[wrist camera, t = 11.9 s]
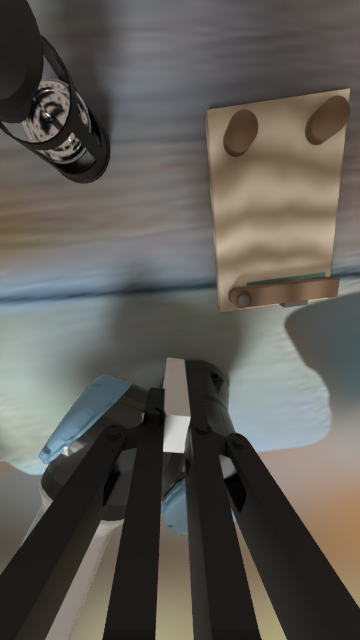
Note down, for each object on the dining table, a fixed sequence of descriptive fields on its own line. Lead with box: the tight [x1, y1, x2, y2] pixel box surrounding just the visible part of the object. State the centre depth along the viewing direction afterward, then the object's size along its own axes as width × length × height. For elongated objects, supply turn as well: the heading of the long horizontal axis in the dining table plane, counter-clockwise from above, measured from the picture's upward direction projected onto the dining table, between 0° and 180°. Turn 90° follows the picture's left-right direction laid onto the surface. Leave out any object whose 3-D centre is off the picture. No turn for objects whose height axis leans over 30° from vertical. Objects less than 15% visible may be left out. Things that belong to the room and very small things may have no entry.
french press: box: [0, 0, 110, 183], centre depth 20 cm, size 12×9×23 cm
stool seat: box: [205, 88, 350, 313], centre depth 33 cm, size 30×20×5 cm, turn 7°
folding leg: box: [228, 277, 340, 308], centre depth 35 cm, size 18×3×4 cm, turn 97°
